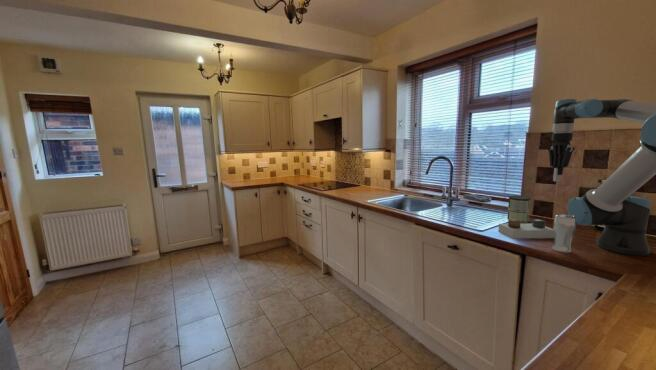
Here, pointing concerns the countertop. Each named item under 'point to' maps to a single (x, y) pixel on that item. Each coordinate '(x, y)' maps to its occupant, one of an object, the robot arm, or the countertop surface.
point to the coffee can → (519, 208)
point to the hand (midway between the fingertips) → (556, 181)
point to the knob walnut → (514, 223)
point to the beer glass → (563, 232)
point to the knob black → (538, 223)
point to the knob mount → (526, 231)
